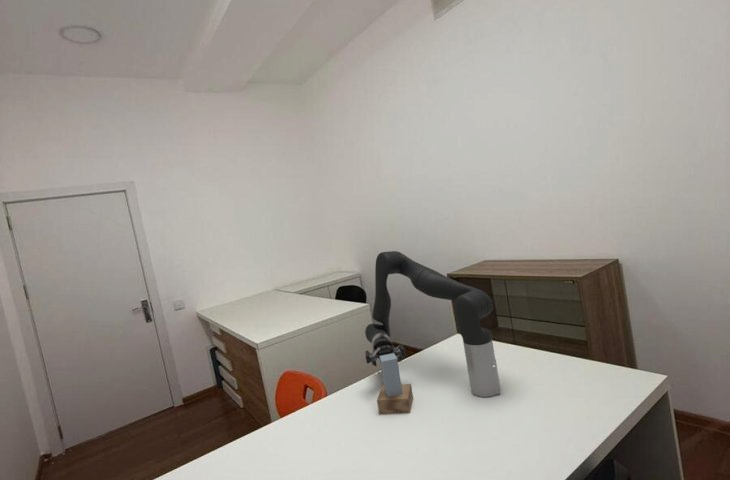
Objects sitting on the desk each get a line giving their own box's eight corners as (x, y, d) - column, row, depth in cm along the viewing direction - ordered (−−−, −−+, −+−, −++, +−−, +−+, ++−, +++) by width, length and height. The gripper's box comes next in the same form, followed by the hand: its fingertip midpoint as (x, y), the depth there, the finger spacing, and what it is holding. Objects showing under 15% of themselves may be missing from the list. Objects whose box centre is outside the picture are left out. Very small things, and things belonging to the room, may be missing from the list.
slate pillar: (399, 387, 132) (394, 353, 131) (402, 394, 127) (397, 358, 126) (384, 390, 131) (379, 356, 130) (387, 397, 126) (381, 361, 125)
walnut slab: (413, 398, 133) (410, 383, 133) (410, 413, 124) (407, 398, 123) (384, 399, 136) (382, 385, 135) (379, 415, 126) (376, 400, 125)
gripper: (362, 339, 150) (365, 354, 133) (398, 332, 150) (406, 346, 134) (365, 358, 150) (369, 375, 134) (402, 351, 151) (409, 367, 135)
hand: (387, 361), depth 134 cm, fingers open, 8 cm apart
